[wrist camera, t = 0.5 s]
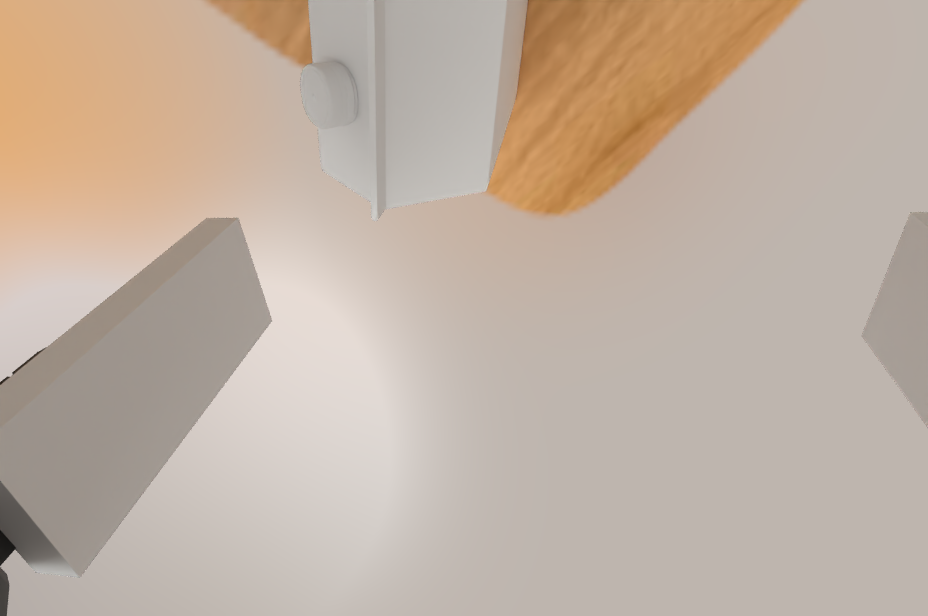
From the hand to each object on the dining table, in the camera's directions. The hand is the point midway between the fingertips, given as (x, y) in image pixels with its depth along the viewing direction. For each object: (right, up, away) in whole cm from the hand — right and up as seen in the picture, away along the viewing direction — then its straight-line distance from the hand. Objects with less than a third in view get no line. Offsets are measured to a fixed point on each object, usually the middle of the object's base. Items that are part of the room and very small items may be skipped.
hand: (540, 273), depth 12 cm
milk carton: (-2, +16, +22) cm, 27 cm away
